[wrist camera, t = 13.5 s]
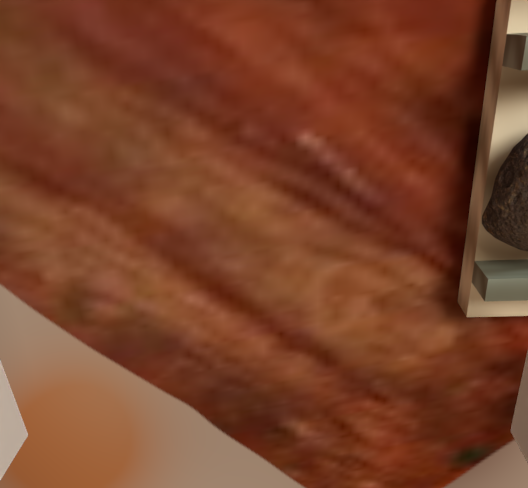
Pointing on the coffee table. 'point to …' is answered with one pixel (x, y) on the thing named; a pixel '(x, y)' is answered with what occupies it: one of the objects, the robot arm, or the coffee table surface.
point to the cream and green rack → (486, 169)
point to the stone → (510, 200)
